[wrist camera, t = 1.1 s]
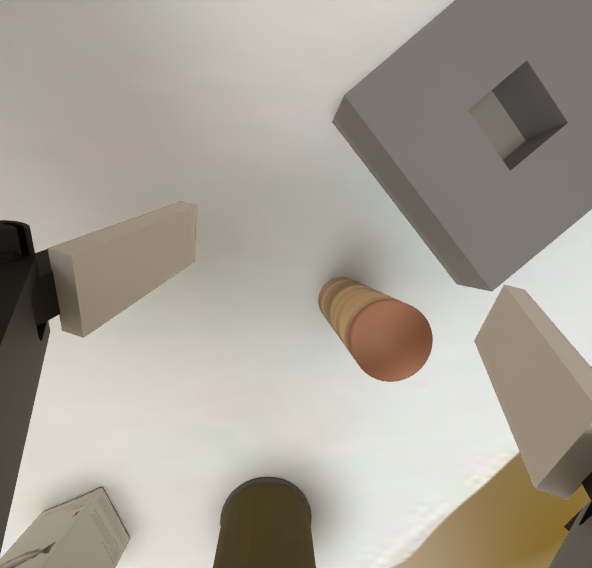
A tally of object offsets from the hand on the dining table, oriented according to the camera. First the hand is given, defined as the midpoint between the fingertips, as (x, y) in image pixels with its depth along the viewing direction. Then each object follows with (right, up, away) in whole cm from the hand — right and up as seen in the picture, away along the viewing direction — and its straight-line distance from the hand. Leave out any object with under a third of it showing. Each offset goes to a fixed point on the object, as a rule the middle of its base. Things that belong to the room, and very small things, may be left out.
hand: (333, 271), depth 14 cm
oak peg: (+3, -2, +22) cm, 22 cm away
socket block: (+18, +15, +21) cm, 31 cm away
